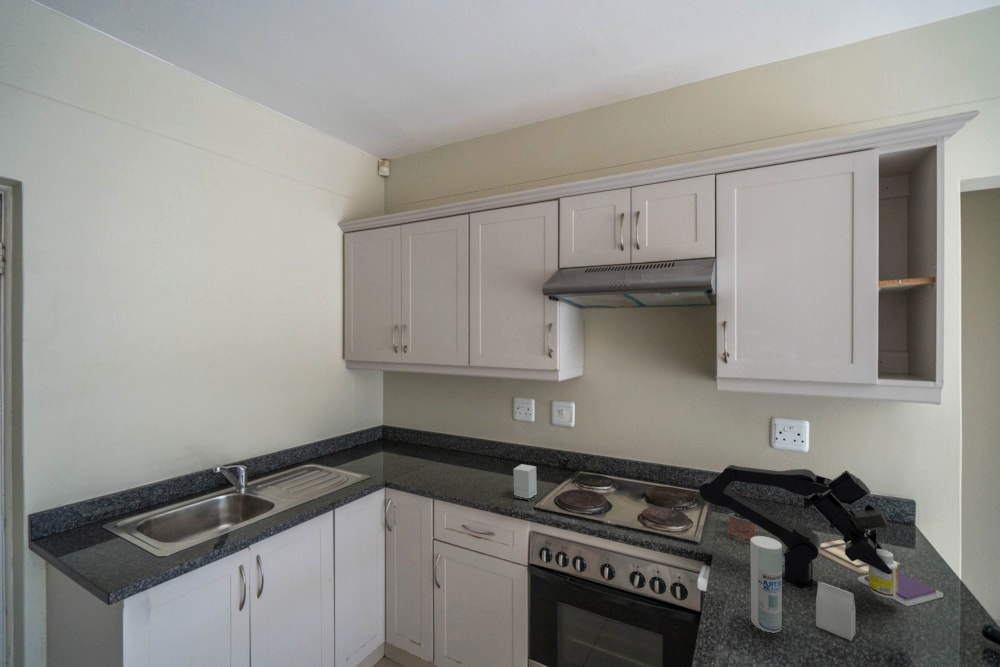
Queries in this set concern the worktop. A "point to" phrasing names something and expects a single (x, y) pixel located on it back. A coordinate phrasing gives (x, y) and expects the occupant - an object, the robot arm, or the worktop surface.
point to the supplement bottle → (884, 577)
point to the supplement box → (525, 481)
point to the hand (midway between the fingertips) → (890, 568)
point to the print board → (843, 556)
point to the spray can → (766, 583)
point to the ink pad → (910, 590)
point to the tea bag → (835, 610)
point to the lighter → (740, 528)
